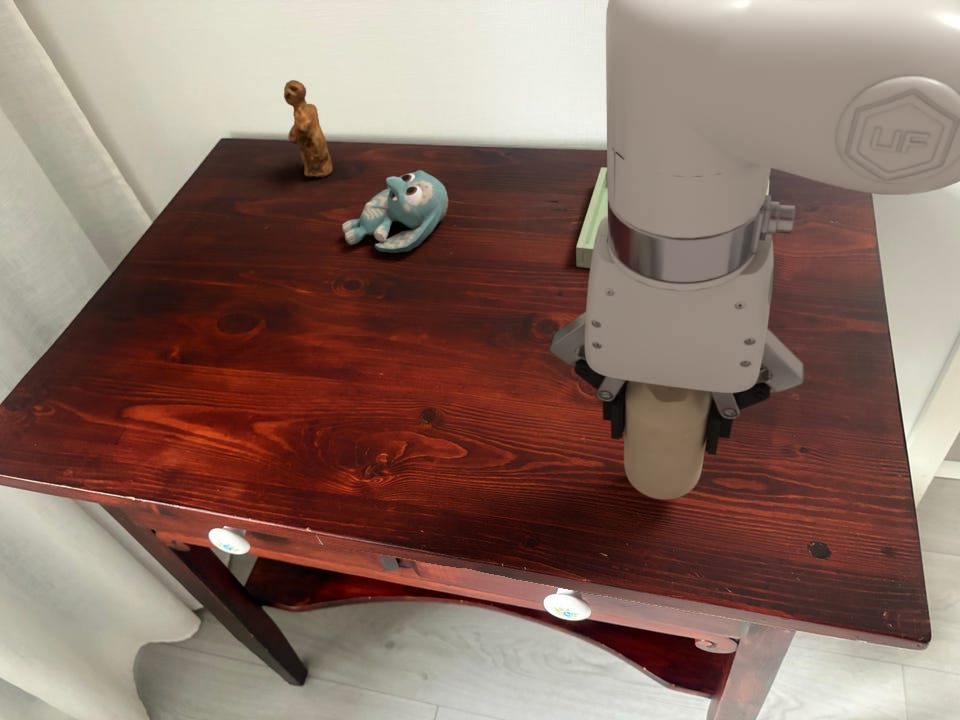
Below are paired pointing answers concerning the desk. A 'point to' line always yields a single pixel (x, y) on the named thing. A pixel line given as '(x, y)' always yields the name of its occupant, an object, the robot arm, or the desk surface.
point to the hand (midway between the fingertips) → (665, 428)
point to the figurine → (307, 132)
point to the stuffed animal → (401, 212)
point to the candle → (665, 438)
